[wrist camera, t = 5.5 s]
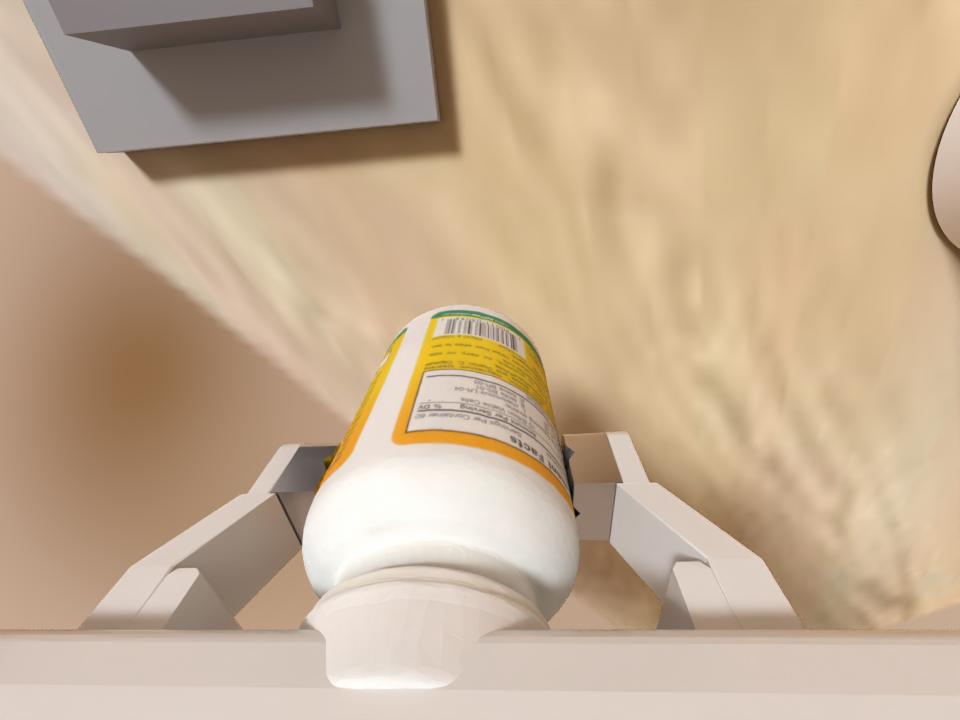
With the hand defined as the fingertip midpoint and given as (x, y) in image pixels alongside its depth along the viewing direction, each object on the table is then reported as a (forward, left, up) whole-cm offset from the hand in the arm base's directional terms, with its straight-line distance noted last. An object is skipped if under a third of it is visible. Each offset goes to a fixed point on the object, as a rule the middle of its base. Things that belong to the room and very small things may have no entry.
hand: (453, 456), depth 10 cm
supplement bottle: (0, 0, -4) cm, 4 cm away
